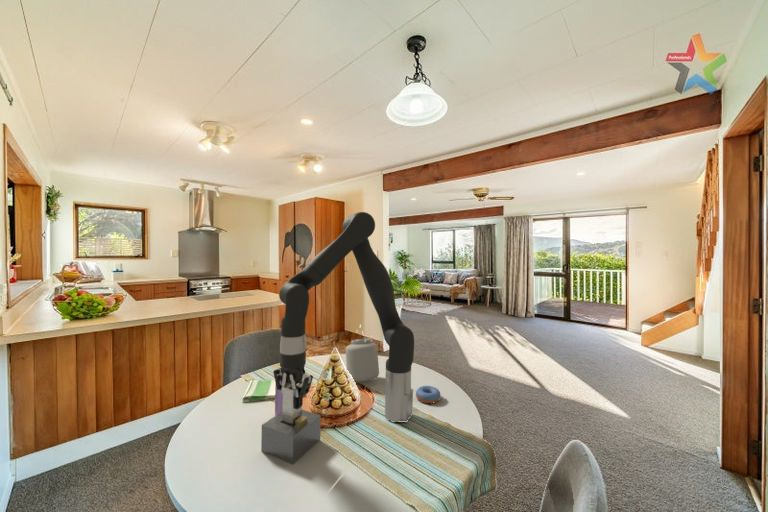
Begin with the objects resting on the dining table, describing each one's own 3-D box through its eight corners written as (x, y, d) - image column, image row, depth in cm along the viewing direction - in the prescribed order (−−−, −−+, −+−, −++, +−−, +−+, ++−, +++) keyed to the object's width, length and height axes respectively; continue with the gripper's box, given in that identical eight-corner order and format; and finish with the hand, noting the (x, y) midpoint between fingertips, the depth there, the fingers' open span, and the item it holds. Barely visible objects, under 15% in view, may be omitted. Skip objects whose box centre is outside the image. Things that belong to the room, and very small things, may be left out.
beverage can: (286, 420, 102) (287, 377, 102) (271, 418, 104) (272, 375, 104) (295, 411, 108) (296, 370, 108) (280, 409, 110) (281, 369, 109)
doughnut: (445, 402, 116) (444, 390, 117) (422, 407, 113) (421, 395, 114) (434, 393, 126) (433, 382, 126) (412, 397, 123) (411, 386, 123)
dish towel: (304, 398, 119) (304, 391, 119) (241, 404, 114) (241, 397, 114) (304, 380, 137) (304, 374, 137) (250, 384, 131) (250, 378, 131)
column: (301, 443, 90) (302, 384, 90) (292, 451, 86) (292, 390, 86) (291, 439, 91) (292, 382, 91) (281, 447, 88) (282, 387, 88)
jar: (338, 374, 142) (339, 323, 142) (366, 369, 150) (366, 320, 149) (355, 390, 126) (356, 332, 126) (384, 383, 133) (385, 328, 133)
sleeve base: (320, 440, 92) (320, 411, 91) (292, 465, 81) (293, 432, 81) (290, 430, 97) (291, 402, 97) (261, 452, 86) (261, 420, 86)
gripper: (320, 349, 89) (319, 406, 89) (284, 342, 95) (283, 395, 95) (303, 357, 82) (302, 418, 82) (266, 349, 88) (265, 406, 88)
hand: (292, 405), depth 89 cm, fingers closed on column, 4 cm apart
